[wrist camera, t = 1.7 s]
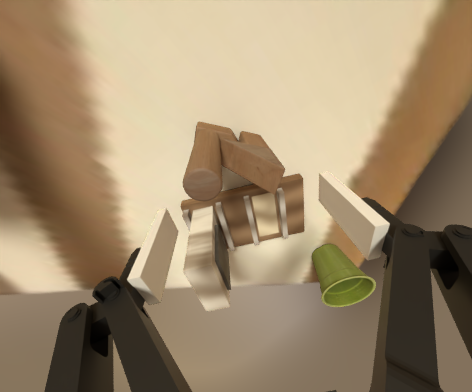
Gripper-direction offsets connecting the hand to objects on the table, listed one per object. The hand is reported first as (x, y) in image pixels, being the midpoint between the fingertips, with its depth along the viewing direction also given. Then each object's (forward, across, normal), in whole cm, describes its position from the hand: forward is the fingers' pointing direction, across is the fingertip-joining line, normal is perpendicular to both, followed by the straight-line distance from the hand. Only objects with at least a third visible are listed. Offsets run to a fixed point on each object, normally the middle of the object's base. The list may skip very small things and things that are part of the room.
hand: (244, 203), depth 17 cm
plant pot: (+20, +18, -36) cm, 45 cm away
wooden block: (+20, 0, 0) cm, 20 cm away
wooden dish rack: (+20, 0, -17) cm, 26 cm away
